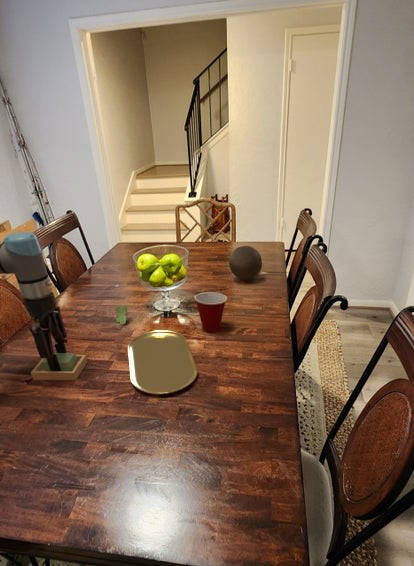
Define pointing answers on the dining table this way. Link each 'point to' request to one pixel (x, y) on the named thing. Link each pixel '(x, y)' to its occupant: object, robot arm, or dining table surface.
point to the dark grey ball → (245, 262)
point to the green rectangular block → (62, 362)
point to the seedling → (121, 314)
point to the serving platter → (161, 362)
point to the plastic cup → (210, 310)
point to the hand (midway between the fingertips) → (61, 368)
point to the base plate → (60, 375)
